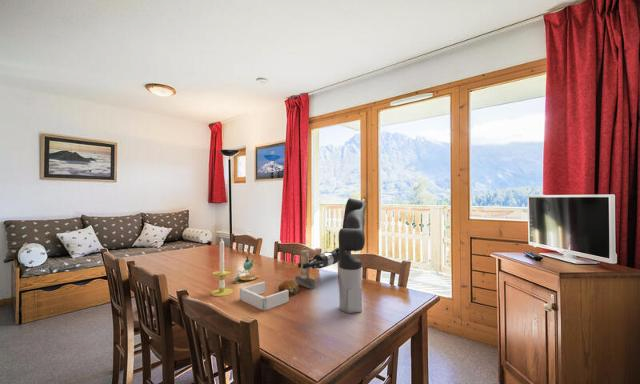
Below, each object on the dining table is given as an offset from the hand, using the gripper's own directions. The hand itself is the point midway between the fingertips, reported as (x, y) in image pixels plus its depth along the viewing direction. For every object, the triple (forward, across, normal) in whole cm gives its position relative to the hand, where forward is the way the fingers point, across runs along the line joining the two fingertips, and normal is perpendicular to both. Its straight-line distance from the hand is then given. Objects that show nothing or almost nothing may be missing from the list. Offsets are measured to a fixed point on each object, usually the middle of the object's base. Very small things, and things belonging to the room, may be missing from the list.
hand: (300, 266), depth 142 cm
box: (+22, 0, +11) cm, 25 cm away
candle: (+31, -24, +11) cm, 40 cm away
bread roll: (+9, 0, +11) cm, 14 cm away
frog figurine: (+11, -33, +11) cm, 37 cm away
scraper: (-3, 0, +11) cm, 11 cm away
